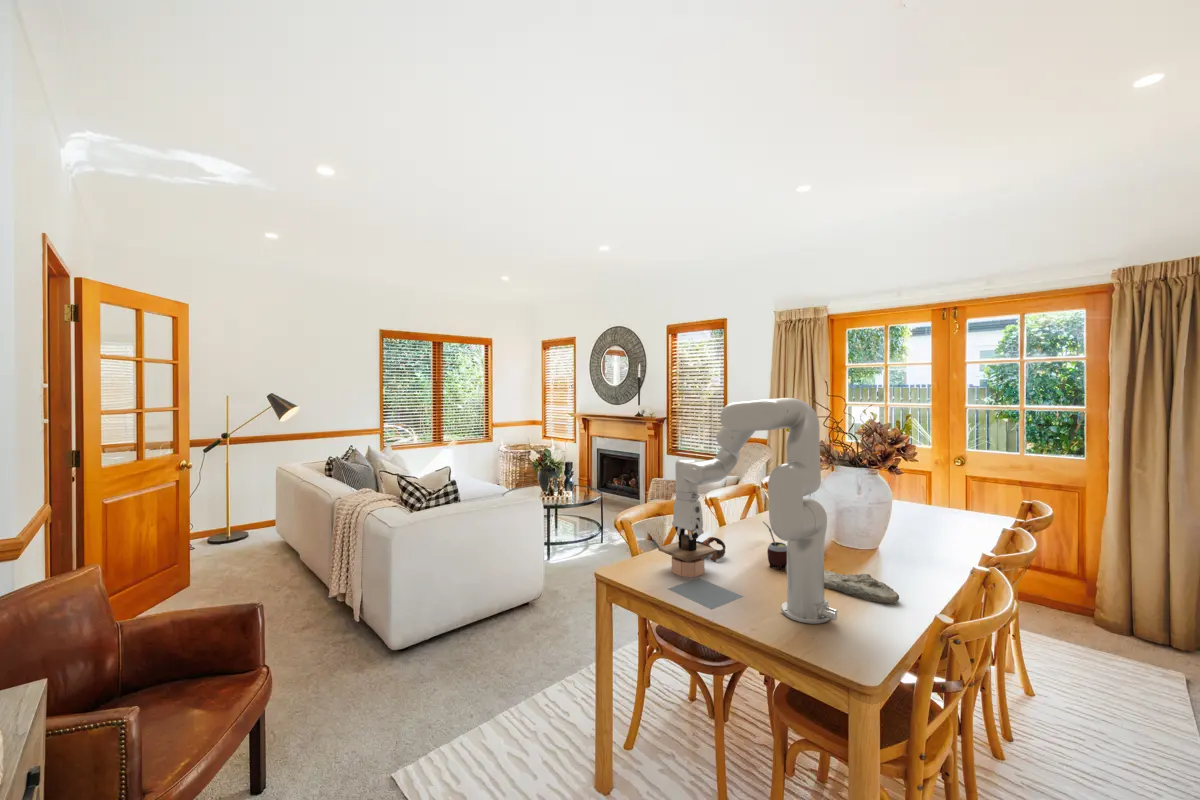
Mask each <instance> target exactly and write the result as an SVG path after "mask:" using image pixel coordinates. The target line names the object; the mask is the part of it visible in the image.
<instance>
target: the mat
mask: <svg viewBox="0 0 1200 800" xmlns="http://www.w3.org/2000/svg"><path fill="white" fill-rule="evenodd" d="M667 590H669V591H671V592H674V593H676V594H678V595H679V596H682V597H684V598H686V599H688V600H691V601H692V602H695V603H697V604H699V605H702V606H703V607H705V608H708V609H709V610H713V609H716V608H719V607H721V606H723V605H726V604H729V603H731V602H734V601H736V600H738V599H741V598H743V597H744V596H743V595H742V594H739V593H737V592H735V591H732V590H730V589H727V588H724V587H723V586H720V585H717V584H716V583H715V584H714V583H712V582H710V581H707V580H706V579H702V578H701V577H698V578H695V579H692V580H689V581H685V582H684V583H680V584H677V585H675V586H674V585H673V586H671V587H669V588H667Z"/></svg>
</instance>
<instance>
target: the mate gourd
mask: <svg viewBox="0 0 1200 800" xmlns="http://www.w3.org/2000/svg"><path fill="white" fill-rule="evenodd" d="M762 523H763V524H764V525H765V526H766V527H767V529H768V532H770V536H771V539H772V542H771V543H770V544H769V545H768V546H767V560H768V564H769V565H768V567H778V568H779V569H778V568H777V569H778V571H780V570H782V571H783V568H781V567H785V566H786V565H787V544H785V543H784V542H779V541H775V539H774V535H773V531H772V528H771V526H769V524H767V523H766V522H765V521H762Z"/></svg>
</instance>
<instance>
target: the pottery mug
mask: <svg viewBox="0 0 1200 800" xmlns="http://www.w3.org/2000/svg"><path fill="white" fill-rule="evenodd" d="M713 542H715V543H716V544H717V545H720V546H721V547H722V548H721V549H716V550H717V553H715V554H712V555H711V556H712V557H711V558H710V560H711V561H712V562H716V561H718V560H719V559H720V558H722V557H724V556H725V554H726V545H725V542H724V541H723V540H721V539H720V538H718V537H713V536H710V537H707V538H706V539H705V540H703V541H700V540H696V543H698V544H701V545H704V546H707V547H710V548H713V549H715V548H714V547H713V546H711V545H710V544H711V543H713ZM717 559H718V560H717Z"/></svg>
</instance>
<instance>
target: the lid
mask: <svg viewBox="0 0 1200 800" xmlns="http://www.w3.org/2000/svg"><path fill="white" fill-rule="evenodd" d="M689 539H690V536H689V533H688V534H687V533H685V534H683V535H681V548H679V541H677V542H674V543H671V544H666V545H662V546H659V547H658V548H657V550H658V551H659V552H662V553H664V554H666V555H668V556H671V557H672V556H674V557H676V558H679V559H681V560H684V561H686V562H689V561H692V560H695V559H699V558H702V557H704V558H705V557H708V556H712V555H713V554H715V553H717V550H718V549H716V548H714V547H712V548H710V547H707V546H704V545H701V544H698V543H696V548H697V549H696V550H694V551H689V546H688V540H689ZM713 548H714V549H713Z"/></svg>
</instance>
